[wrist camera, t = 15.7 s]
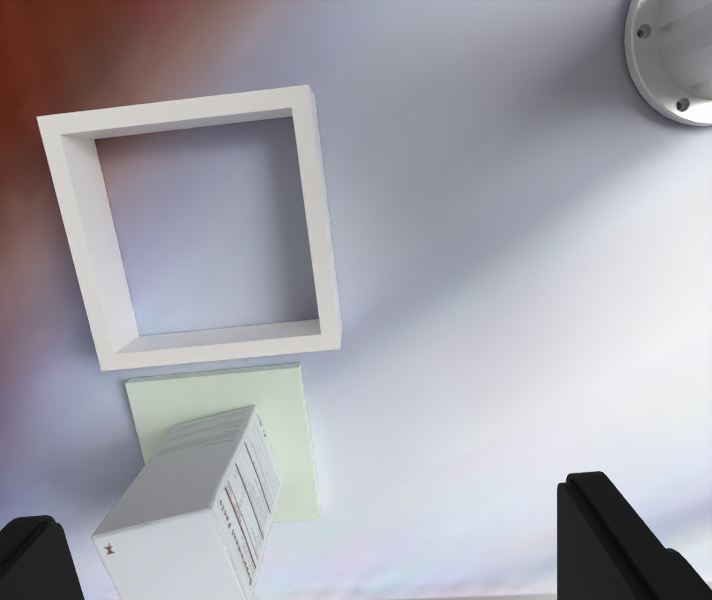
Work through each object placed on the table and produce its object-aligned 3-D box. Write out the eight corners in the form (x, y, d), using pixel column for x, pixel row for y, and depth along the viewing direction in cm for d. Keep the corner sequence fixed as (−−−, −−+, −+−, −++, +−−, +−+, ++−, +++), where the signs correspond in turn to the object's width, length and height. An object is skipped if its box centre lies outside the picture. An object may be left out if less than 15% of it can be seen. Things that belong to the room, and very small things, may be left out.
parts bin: (314, 95, 33) (308, 84, 29) (342, 331, 37) (340, 348, 34) (74, 123, 34) (36, 116, 30) (128, 351, 38) (101, 371, 34)
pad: (300, 362, 38) (298, 367, 37) (321, 511, 42) (320, 519, 41) (130, 378, 39) (124, 383, 38) (165, 523, 42) (161, 531, 41)
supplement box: (203, 499, 40) (133, 638, 28) (173, 422, 39) (84, 536, 26) (286, 480, 40) (251, 615, 28) (259, 402, 38) (209, 508, 26)
